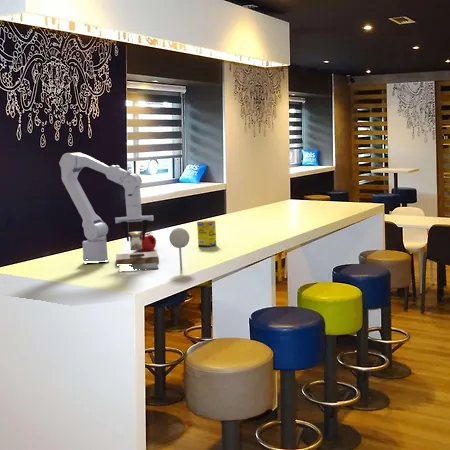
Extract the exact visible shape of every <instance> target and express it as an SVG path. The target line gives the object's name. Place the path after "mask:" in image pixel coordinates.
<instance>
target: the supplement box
mask: <svg viewBox="0 0 450 450" xmlns="http://www.w3.org/2000/svg"><path fill="white" fill-rule="evenodd" d="M196 224H197V226H196V227H197V228H196V229H197V243H198V244H197V245H198V248H199V247H200V248H210V247H215V246H216V245H217V233H216V232H217V231H216V230H217V229H216V220H200V221H197V222H196Z"/></svg>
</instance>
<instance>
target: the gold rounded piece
mask: <svg viewBox="0 0 450 450" xmlns="http://www.w3.org/2000/svg"><path fill="white" fill-rule="evenodd" d="M142 234H143V231H130V232H128V236H129V245H130V250H131V251H138V250H141V249H142V238H141V235H142Z"/></svg>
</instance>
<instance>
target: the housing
mask: <svg viewBox="0 0 450 450" xmlns="http://www.w3.org/2000/svg"><path fill="white" fill-rule="evenodd" d="M145 263H157V264H159V263H160V256H159V254H158V252H157V250H156V251H141V252H133V253H132V252H131V253H117V254H116V255H115V264H145Z"/></svg>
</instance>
